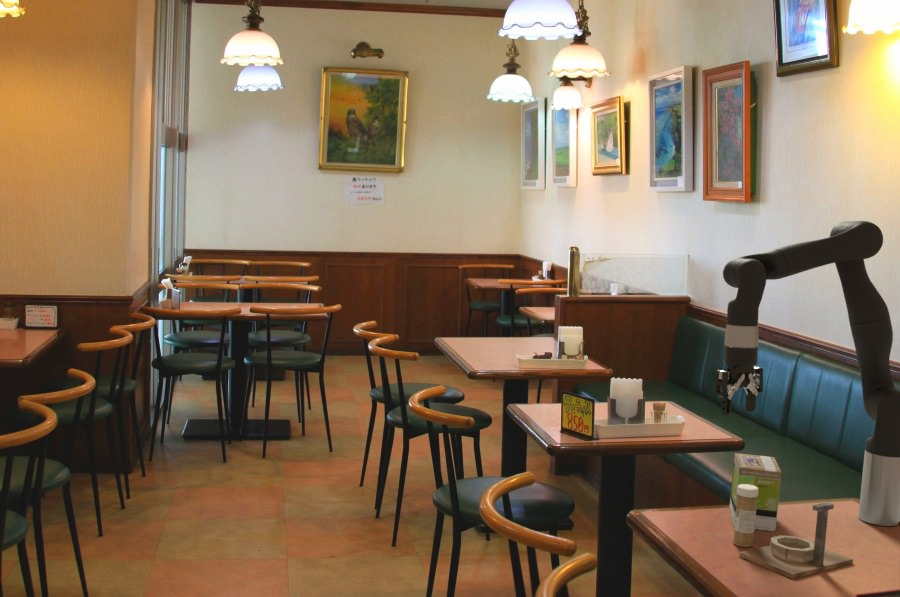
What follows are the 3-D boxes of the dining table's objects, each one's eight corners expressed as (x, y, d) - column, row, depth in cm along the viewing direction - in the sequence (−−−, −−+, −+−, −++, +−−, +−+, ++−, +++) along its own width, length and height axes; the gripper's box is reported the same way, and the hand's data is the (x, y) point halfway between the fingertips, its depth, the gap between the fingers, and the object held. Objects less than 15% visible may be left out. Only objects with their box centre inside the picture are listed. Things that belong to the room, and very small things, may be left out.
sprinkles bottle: (734, 539, 230) (739, 482, 228) (755, 543, 228) (760, 485, 226) (731, 545, 226) (735, 487, 224) (751, 549, 224) (757, 490, 222)
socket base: (798, 542, 230) (804, 483, 228) (852, 563, 218) (858, 500, 217) (739, 556, 219) (744, 493, 217) (792, 579, 207) (798, 513, 206)
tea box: (777, 532, 236) (782, 471, 235) (732, 527, 238) (737, 466, 237) (770, 513, 251) (775, 455, 249) (728, 508, 253) (733, 451, 251)
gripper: (748, 340, 242) (744, 407, 243) (708, 344, 234) (705, 413, 235) (774, 344, 236) (770, 412, 237) (734, 347, 227) (731, 418, 229)
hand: (738, 412), depth 236 cm, fingers open, 8 cm apart
